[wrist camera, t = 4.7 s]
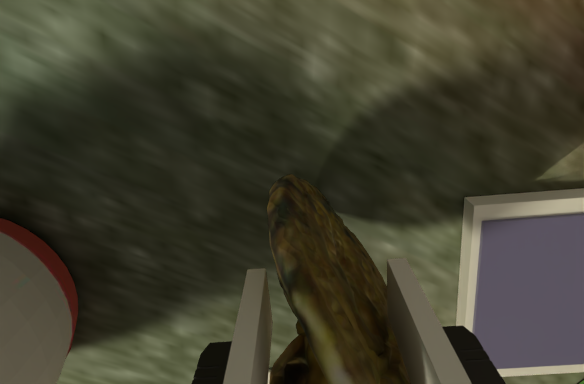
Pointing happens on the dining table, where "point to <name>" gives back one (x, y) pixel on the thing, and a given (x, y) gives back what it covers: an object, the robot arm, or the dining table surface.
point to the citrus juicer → (33, 308)
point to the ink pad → (525, 280)
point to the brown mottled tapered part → (328, 295)
